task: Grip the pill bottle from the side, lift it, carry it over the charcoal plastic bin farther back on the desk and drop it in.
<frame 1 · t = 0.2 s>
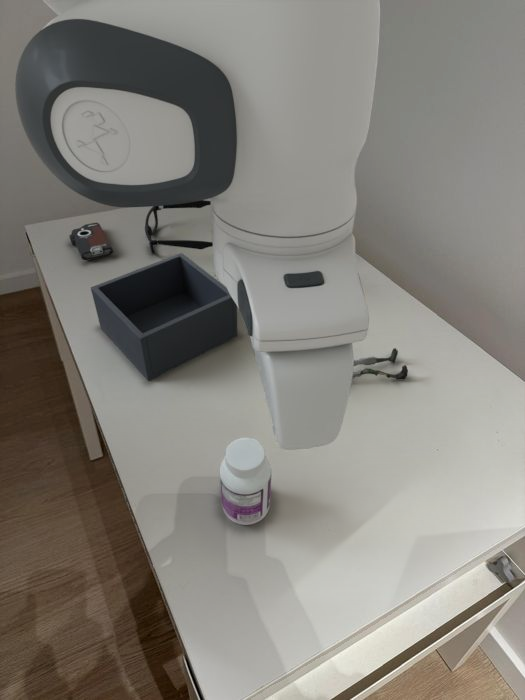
hand: (273, 391, 42), 21 cm above the table, tool pointing down, fingers open, 8 cm apart
bin: (168, 332, 79), on the table
cup: (280, 290, 88), on the table
pill bottle 2: (291, 253, 98), on the table
pill bottle: (245, 505, 58), on the table
glasses: (194, 241, 100), on the table
camera: (91, 247, 98), on the table
zombie figurine: (349, 377, 73), on the table
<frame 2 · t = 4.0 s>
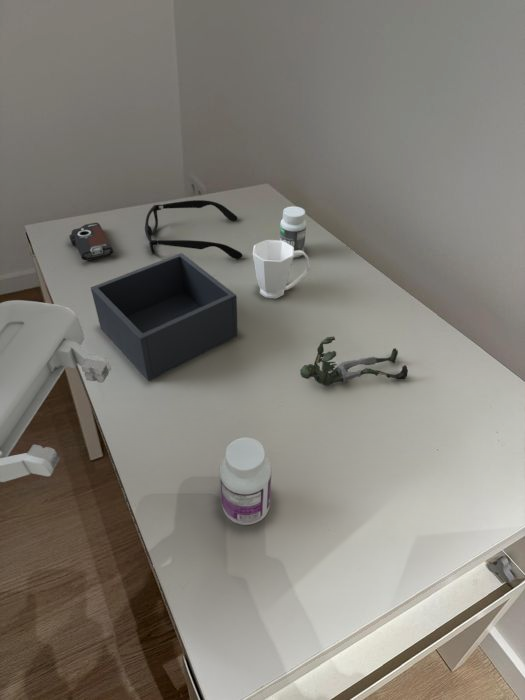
hand: (82, 413, 42), 19 cm above the table, tool horizontal, fingers open, 8 cm apart
nothing on the table moved.
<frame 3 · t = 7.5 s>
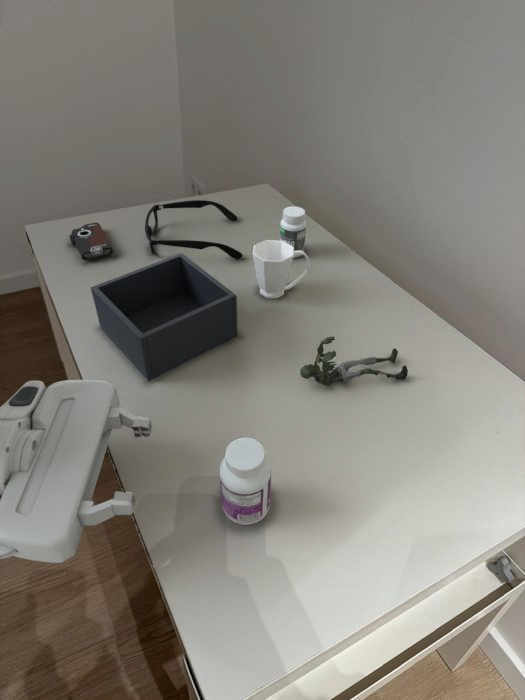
hand: (142, 462, 53), 7 cm above the table, tool horizontal, fingers open, 8 cm apart
nothing on the table moved.
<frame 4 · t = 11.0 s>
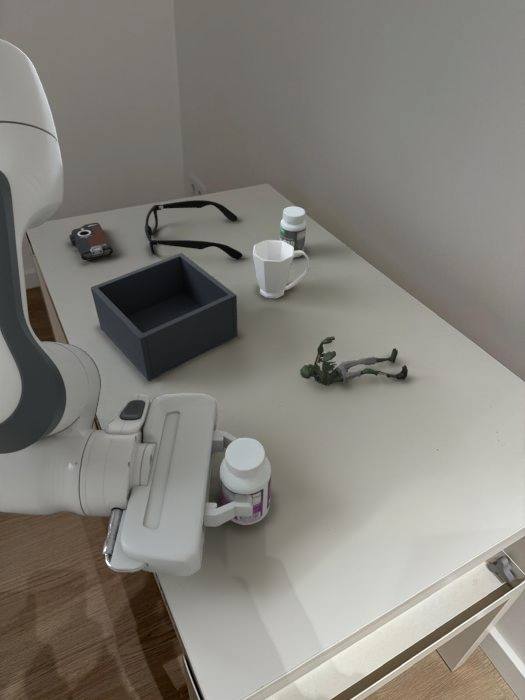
hand: (254, 476, 54), 6 cm above the table, tool horizontal, fingers closed on pill bottle, 5 cm apart
pill bottle: (245, 506, 58), on the table, touching gripper
everything else where it was.
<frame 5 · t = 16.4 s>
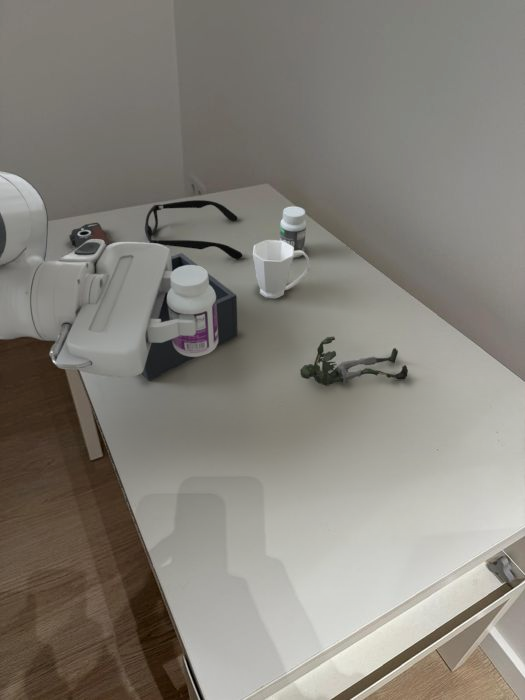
hand: (200, 305, 57), 17 cm above the table, tool horizontal, fingers closed on pill bottle, 5 cm apart
pill bottle: (195, 344, 61), point 11 cm above the table, touching gripper
everything else where it was.
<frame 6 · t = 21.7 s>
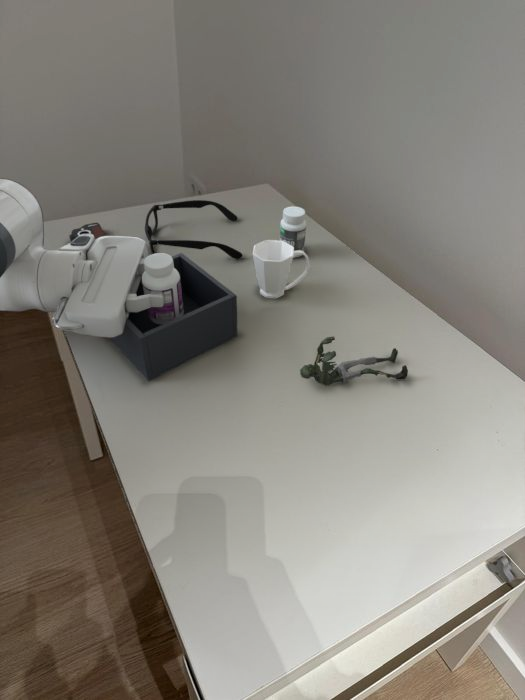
hand: (167, 284, 74), 9 cm above the table, tool horizontal, fingers closed on pill bottle, 5 cm apart
pill bottle: (165, 316, 77), point 3 cm above the table, touching gripper
everything else where it was.
when the fingers open (9 cm above the table, at t = 21.9 s): pill bottle drops 3 cm, resting on bin.
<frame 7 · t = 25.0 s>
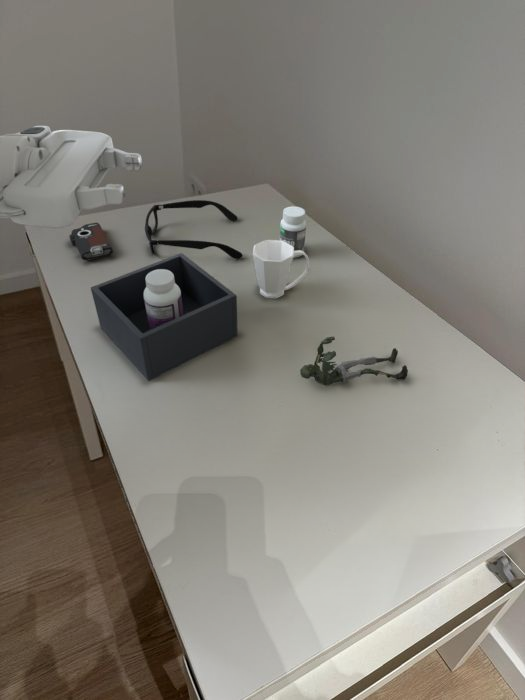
hand: (132, 177, 62), 25 cm above the table, tool horizontal, fingers open, 8 cm apart
pill bottle: (167, 330, 79), point 1 cm above the table, touching bin
everything else where it was.
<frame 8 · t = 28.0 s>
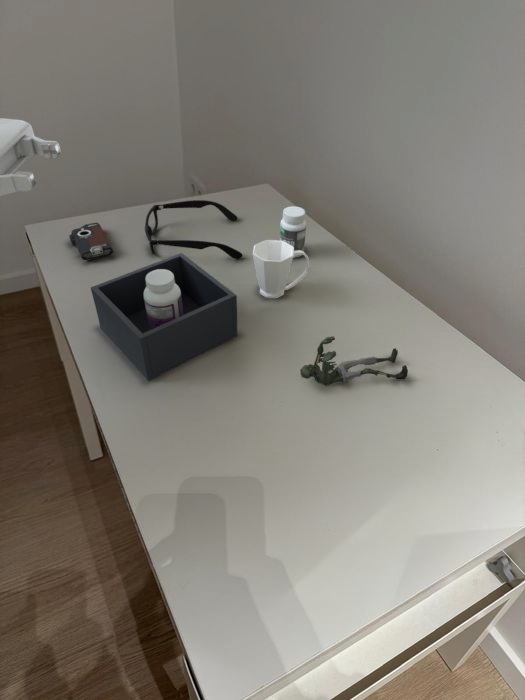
hand: (46, 164, 62), 26 cm above the table, tool horizontal, fingers open, 8 cm apart
nothing on the table moved.
at the end: pill bottle inside the target area in the bin (0.2 cm from its centre), point 0.6 cm above the bin's base; the gripper is holding nothing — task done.
